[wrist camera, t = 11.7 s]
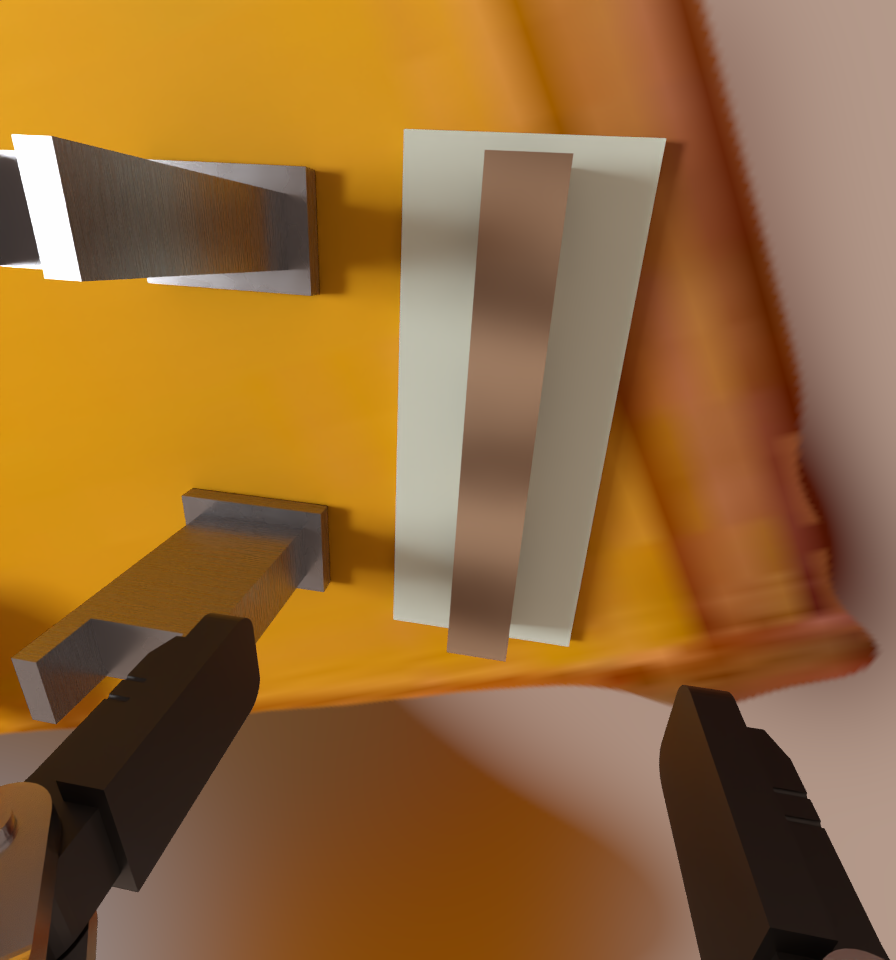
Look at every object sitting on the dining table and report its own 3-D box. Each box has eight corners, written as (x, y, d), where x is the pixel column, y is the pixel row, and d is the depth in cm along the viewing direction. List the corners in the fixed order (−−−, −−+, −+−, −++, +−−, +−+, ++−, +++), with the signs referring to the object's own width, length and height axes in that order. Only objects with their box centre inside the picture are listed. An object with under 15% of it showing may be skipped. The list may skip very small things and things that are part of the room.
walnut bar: (492, 163, 21) (484, 149, 18) (569, 167, 20) (573, 153, 18) (455, 615, 30) (446, 652, 27) (508, 623, 29) (505, 661, 26)
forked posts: (143, 162, 23) (-232, 73, 12) (315, 170, 22) (82, 82, 11) (203, 563, 32) (16, 733, 20) (330, 582, 31) (207, 772, 19)
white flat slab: (407, 132, 21) (403, 129, 21) (662, 141, 20) (666, 138, 19) (396, 613, 31) (393, 619, 30) (568, 639, 30) (568, 646, 29)
